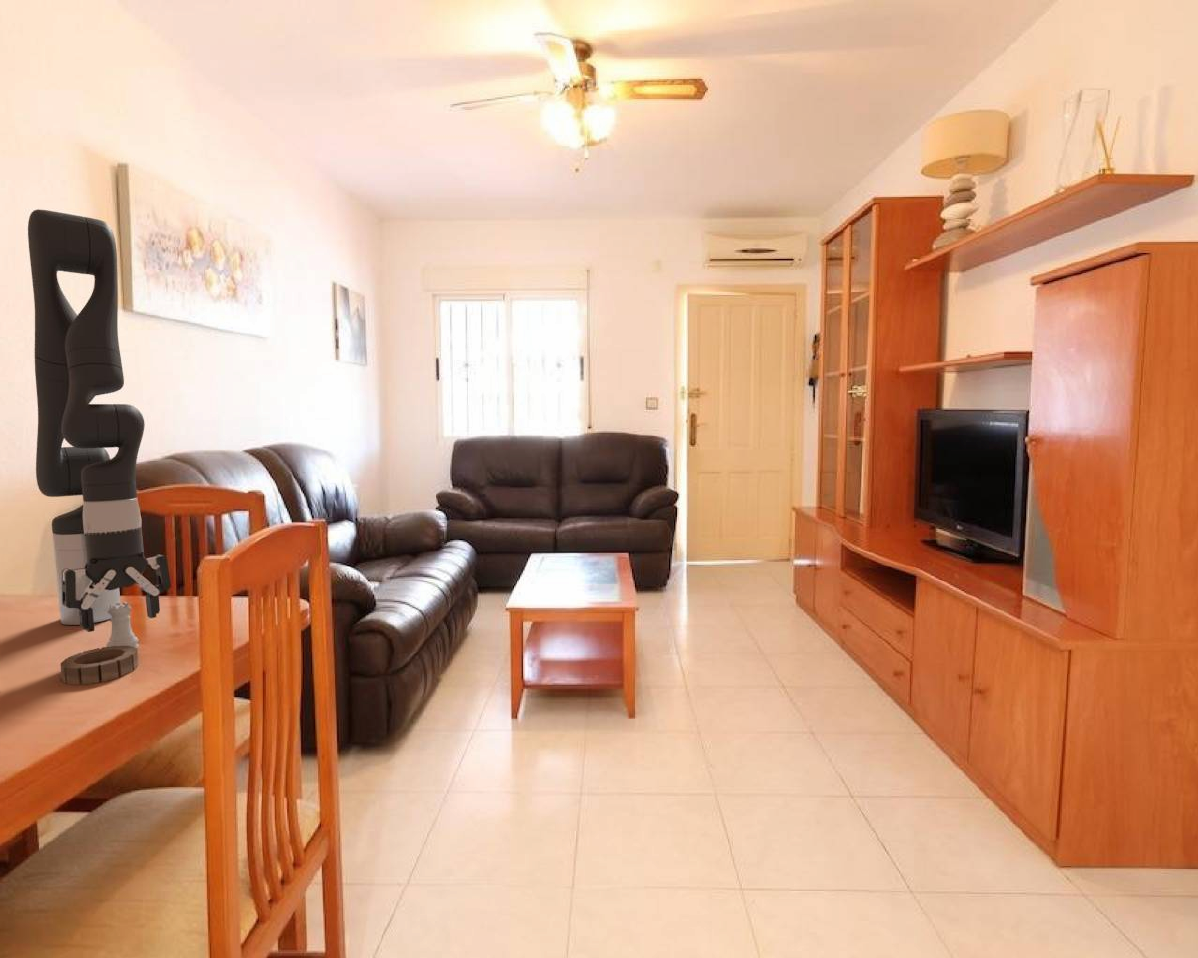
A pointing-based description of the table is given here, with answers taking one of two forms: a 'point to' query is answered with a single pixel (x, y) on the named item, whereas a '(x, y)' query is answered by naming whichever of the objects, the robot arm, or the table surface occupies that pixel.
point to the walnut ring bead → (99, 665)
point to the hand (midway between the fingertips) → (121, 623)
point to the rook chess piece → (121, 626)
